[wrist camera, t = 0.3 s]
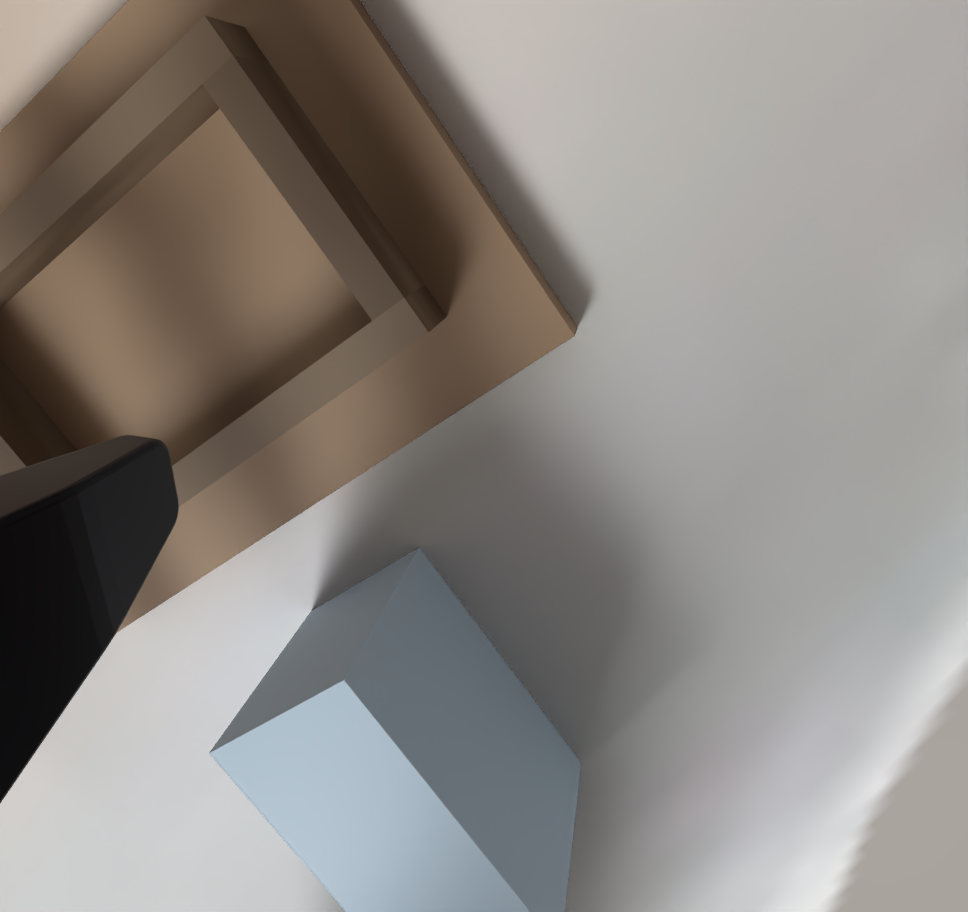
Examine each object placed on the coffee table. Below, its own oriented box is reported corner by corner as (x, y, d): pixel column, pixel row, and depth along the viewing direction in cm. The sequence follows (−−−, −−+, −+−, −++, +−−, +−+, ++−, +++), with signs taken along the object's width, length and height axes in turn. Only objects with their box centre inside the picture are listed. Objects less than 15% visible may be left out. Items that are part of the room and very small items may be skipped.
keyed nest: (133, 617, 29) (78, 667, 26) (-138, 297, 26) (-230, 316, 24) (577, 327, 23) (567, 353, 20) (277, -122, 20) (219, -164, 18)
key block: (471, 809, 29) (421, 999, 23) (312, 609, 28) (208, 753, 21) (581, 761, 28) (560, 950, 21) (420, 546, 26) (343, 680, 20)
